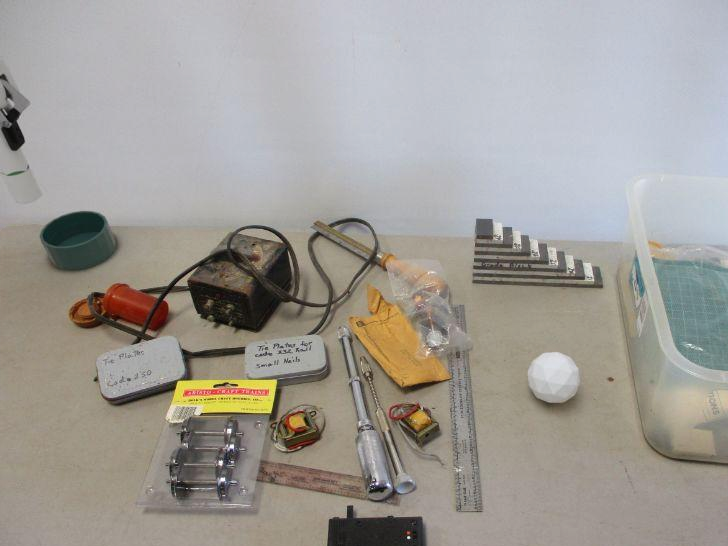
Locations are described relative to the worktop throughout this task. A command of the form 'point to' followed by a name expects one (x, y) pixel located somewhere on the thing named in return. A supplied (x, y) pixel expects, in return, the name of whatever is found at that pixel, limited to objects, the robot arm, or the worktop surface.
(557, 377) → the ball
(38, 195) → the tube
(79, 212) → the bowl
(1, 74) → the robot arm
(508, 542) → the worktop surface
